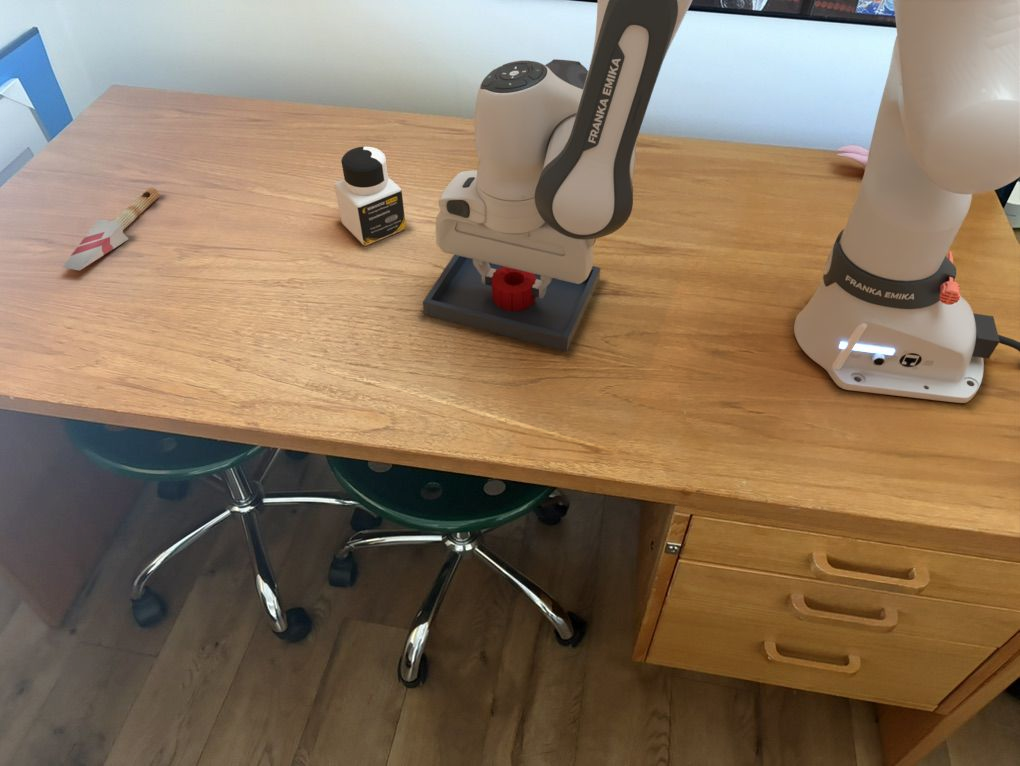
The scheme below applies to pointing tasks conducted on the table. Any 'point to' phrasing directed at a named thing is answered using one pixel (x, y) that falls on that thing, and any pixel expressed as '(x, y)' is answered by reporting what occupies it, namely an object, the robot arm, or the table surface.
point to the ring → (512, 289)
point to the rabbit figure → (855, 154)
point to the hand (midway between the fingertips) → (513, 288)
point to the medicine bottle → (369, 196)
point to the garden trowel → (108, 233)
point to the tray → (473, 306)
